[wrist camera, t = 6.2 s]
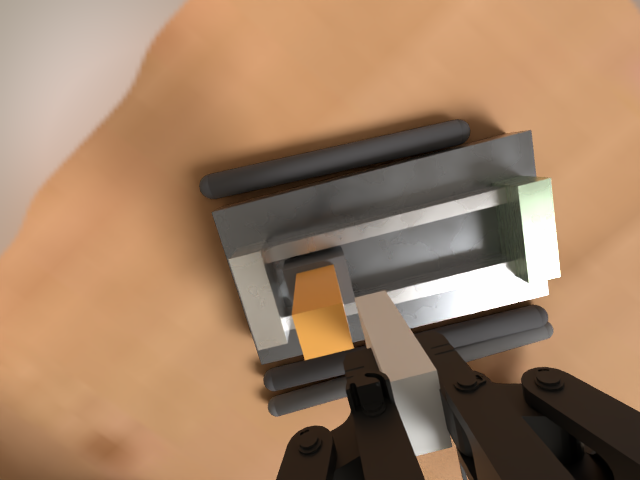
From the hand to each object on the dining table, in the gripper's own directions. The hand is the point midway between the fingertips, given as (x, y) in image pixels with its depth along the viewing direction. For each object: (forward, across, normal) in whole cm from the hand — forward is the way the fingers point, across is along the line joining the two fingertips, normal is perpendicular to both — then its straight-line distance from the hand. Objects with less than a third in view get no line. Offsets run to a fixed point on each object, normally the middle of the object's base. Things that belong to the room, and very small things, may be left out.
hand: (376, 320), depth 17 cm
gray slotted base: (+11, +3, 0) cm, 12 cm away
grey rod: (+12, +3, -8) cm, 15 cm away
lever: (+8, -2, 0) cm, 8 cm away
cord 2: (+12, +3, -10) cm, 16 cm away
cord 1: (+11, +1, +8) cm, 14 cm away
